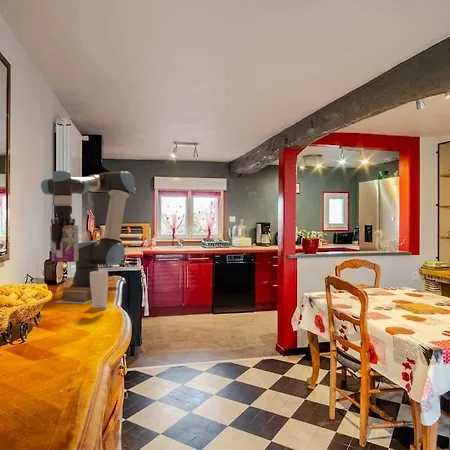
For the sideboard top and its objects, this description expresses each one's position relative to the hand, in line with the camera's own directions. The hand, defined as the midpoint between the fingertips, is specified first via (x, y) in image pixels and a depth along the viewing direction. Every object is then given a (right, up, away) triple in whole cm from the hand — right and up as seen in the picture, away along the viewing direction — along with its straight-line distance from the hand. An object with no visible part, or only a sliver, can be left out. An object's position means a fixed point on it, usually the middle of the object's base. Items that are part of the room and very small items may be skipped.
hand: (64, 256), depth 175 cm
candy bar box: (0, -3, 0) cm, 3 cm away
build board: (+12, -19, -11) cm, 25 cm away
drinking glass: (+24, -19, -25) cm, 40 cm away
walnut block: (+11, -17, -11) cm, 23 cm away
